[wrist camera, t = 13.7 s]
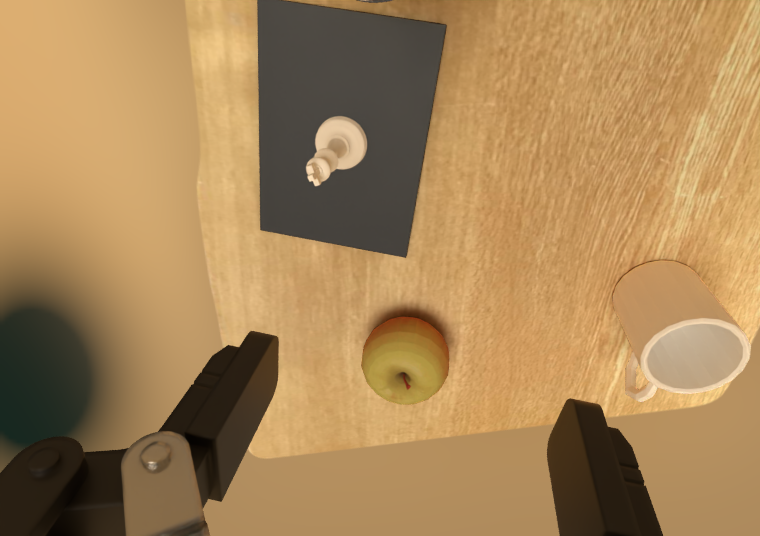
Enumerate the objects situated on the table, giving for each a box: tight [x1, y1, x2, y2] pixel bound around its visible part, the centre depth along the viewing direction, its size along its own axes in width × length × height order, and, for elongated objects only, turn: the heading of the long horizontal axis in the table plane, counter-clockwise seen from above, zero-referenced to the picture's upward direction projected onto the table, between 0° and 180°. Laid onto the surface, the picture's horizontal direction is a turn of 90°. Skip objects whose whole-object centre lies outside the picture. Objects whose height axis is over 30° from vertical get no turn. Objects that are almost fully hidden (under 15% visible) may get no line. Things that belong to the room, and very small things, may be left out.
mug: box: [612, 260, 751, 402], centre depth 44 cm, size 8×12×10 cm
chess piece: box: [306, 116, 367, 186], centre depth 40 cm, size 5×5×10 cm
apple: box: [361, 316, 449, 404], centre depth 52 cm, size 10×10×8 cm
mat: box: [257, 0, 447, 258], centre depth 45 cm, size 22×16×1 cm
